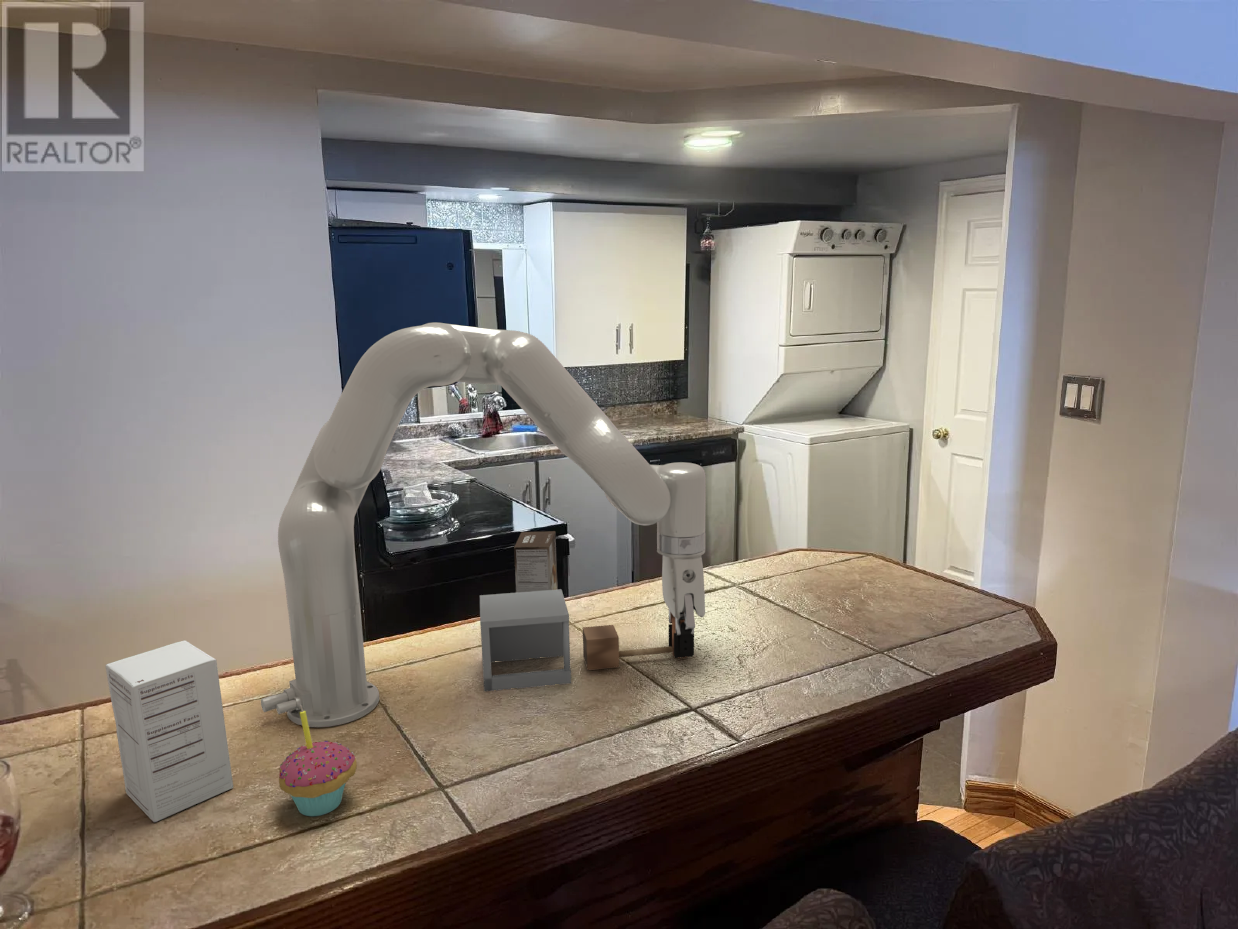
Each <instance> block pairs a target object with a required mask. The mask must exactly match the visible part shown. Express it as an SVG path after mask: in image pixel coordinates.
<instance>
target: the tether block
mask: <svg viewBox="0 0 1238 929" xmlns="http://www.w3.org/2000/svg"><path fill="white" fill-rule="evenodd" d="M682 622H685V620H680V625H681V623H682ZM671 624H672V647H671V646H669V645H668V646H660V647H649V648H648V647H647V648H637V649H629V650H628V649H627V650H625V649H624V650H620V640H619V639H620V638H619V634H618V632H617V630H616V627H615V625H614V624H606V625H595V626H583V627H582V651H583V653H582V654H583V659H584V660H583V661H584V663H585V667H586V669H587V671H593V670H602V669H603V670H604V669H615V668H620V658H626V657H628V658H629V657H639V656H647V655H648V656H649V655H651V656H652V655H659V654H669V653H671V656H673V657H674V658H675V656H674V633H676V624H675V617H673V618H672V623H671ZM685 658H687V657H682V658H681V659H685Z"/></svg>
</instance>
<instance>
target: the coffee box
mask: <svg viewBox="0 0 1238 929" xmlns="http://www.w3.org/2000/svg"><path fill="white" fill-rule="evenodd" d="M556 540H557V539H556V531H555V530H553V531H550V530H549V531H523V532H520V534H519V537H518V538H517V540H516V543H515V544H514V547H513V553H514V555H513V556H514V570H515V572H514V573H515V574H514V575H515V593H519V592H532V591H545V590H558V572H557V570H558V569H557V547H556V546H557V543H556V542H557V541H556Z"/></svg>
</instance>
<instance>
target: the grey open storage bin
mask: <svg viewBox="0 0 1238 929" xmlns="http://www.w3.org/2000/svg"><path fill="white" fill-rule="evenodd" d="M557 589H558V588H557ZM567 606H568V605H567V604H566V600H565V596H564V594H563V590H562V589H561V588H560V589H558V590H545V591H532V592H519V593H516V592H510V593H509V592H508V593H496V594H493V593H492V594H483V595H482V594H481V595H479V617H480V620H479V623H480V640H481V661H482V675H483V676H482V677H483V692H484V691H485V692H493V691H494V690H496V691H504V690H503V689H506V690H512V689H511V688H517V689H525V688H526V687H527V688H534V687H535V688H538V687H546V686H545V685H549V686H556V685H555V684H559V685H569V684H572V671H571V649H570V645H571V644H570V613H569V610H568V608H567ZM557 656H558V657H563V660H562V661H563V668H558V669H545V670H536V671H535V670H534V671H525V672H515V673H514V672H513V673H503V674H492V663H496V662H495V661H502V662H510V661H523V660H522V659H524V660H530V659H529V658H535V659H541V658H540V657H547V658H554V657H555V658H558V657H557ZM537 686H538V687H537Z"/></svg>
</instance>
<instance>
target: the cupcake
mask: <svg viewBox="0 0 1238 929" xmlns="http://www.w3.org/2000/svg"><path fill="white" fill-rule="evenodd" d="M300 708H301V712H300V717H301V722H302V725H301V726H302V730H303V731H302V732H303V735H304V740H305V744H304V745H301V746H300V747H297V748H296V749H295V750H294V751H292V752H290V753H289V754H288V756H286V757H285V758H284V759H283V761H282V763H281V764H279V774H278V775H279V776H278V784H279V785H278V786H279V788H280V790H281V791H282V792H284V793H286V794H288V795H289V796H290V797H291V798H292V800H293V802H294V804H295V805H296V807H297V810H298V812H299V813H300V814H302V815H303V816H305V817H306V816H307V817H320V816H323V815H327V814H329V813H330V812H333V811H334V810H335V809H337V808H338V807H339V806H340V804H341V803H342V799H343V794H344V789H345V787H346V784H347V782H348V781H349V779H350V778H352V777H353V776H355V774H356V771H357V766H358V761H357V758H356V756H355V752H354V751H352V750H350V748H349V747H348V746H344V745H342V743H338V742H337V741H330V740H324V741H319V740H318V741H314V742H313V741H312V736H311V732H310V731H311V730H310V727H309V725H308V721H307V716H306V711H303V708H302V705H300Z"/></svg>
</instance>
